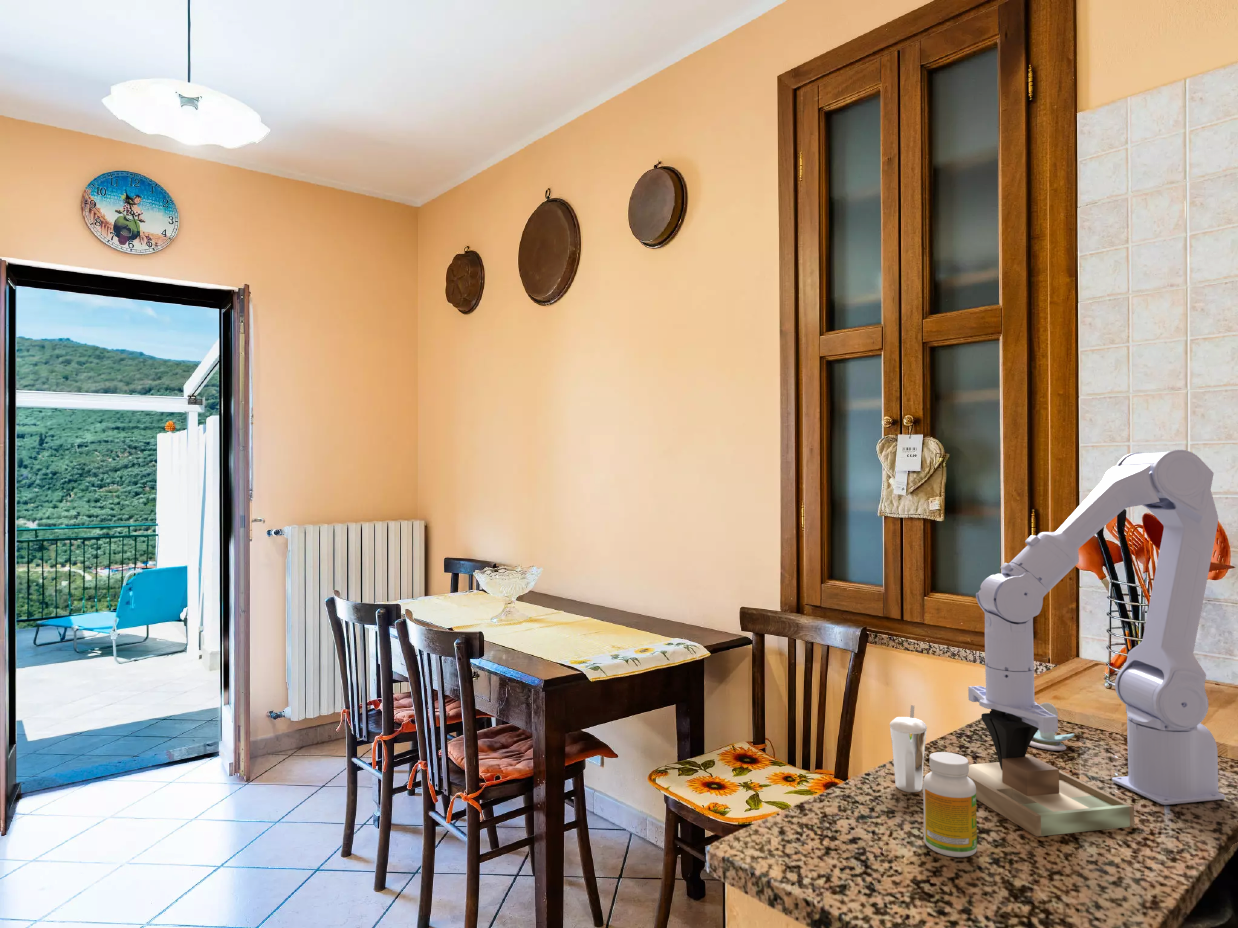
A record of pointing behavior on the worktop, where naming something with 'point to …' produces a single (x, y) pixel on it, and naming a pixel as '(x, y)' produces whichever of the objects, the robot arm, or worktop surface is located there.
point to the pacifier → (1049, 735)
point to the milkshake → (908, 751)
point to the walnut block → (1030, 776)
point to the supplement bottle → (950, 806)
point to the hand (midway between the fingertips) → (1011, 770)
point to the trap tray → (1051, 804)
